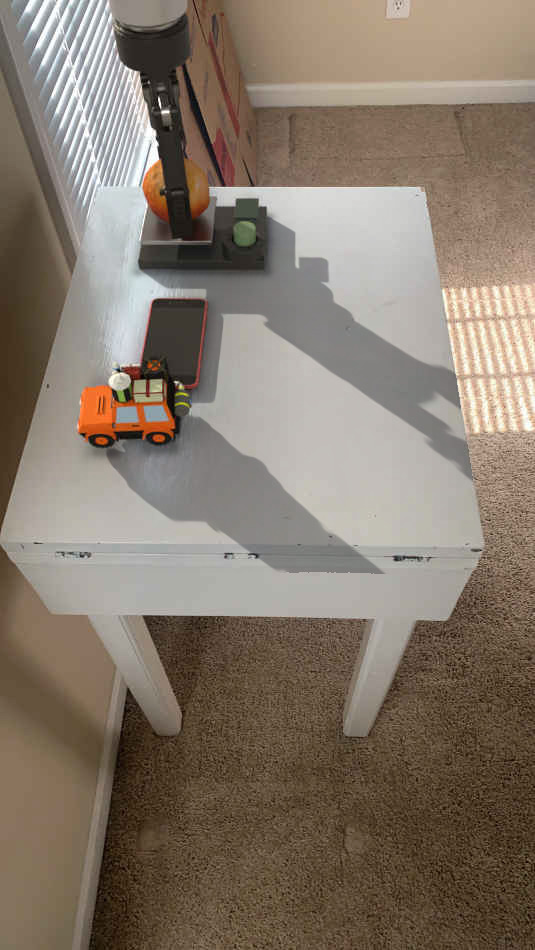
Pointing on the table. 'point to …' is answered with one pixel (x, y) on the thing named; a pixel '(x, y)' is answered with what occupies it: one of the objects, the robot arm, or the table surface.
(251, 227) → the tare button
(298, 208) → the table surface
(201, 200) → the fruit
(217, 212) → the scale
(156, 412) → the toy car
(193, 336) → the smartphone
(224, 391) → the table surface
